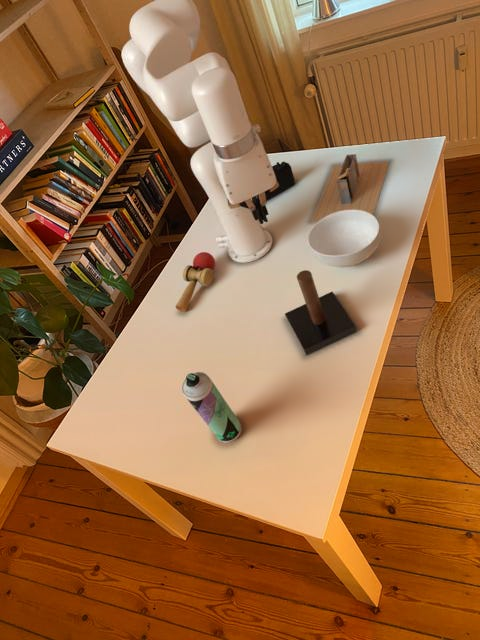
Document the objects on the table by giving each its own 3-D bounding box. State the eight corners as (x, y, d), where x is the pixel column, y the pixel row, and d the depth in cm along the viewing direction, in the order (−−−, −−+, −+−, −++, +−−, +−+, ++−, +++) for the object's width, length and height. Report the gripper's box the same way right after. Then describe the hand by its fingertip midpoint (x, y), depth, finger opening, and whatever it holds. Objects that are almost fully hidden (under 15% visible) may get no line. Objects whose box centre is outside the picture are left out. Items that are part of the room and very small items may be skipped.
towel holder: (284, 319, 113) (332, 308, 115) (303, 356, 104) (354, 343, 107) (287, 258, 101) (340, 247, 103) (308, 293, 92) (366, 281, 95)
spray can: (215, 422, 101) (175, 368, 87) (240, 415, 100) (204, 360, 86) (217, 445, 98) (175, 394, 84) (242, 439, 97) (205, 385, 82)
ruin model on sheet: (372, 220, 125) (366, 189, 118) (311, 221, 133) (303, 192, 126) (389, 161, 138) (385, 130, 131) (333, 165, 146) (327, 136, 139)
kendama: (200, 316, 125) (225, 260, 132) (185, 303, 121) (212, 245, 128) (179, 316, 130) (204, 261, 137) (164, 303, 126) (191, 247, 133)
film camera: (284, 171, 152) (276, 146, 146) (298, 184, 146) (291, 158, 139) (242, 195, 152) (232, 171, 145) (255, 209, 145) (245, 184, 138)
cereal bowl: (385, 227, 122) (382, 205, 117) (380, 276, 112) (376, 253, 107) (319, 233, 128) (313, 211, 123) (308, 279, 119) (301, 258, 114)
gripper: (265, 116, 90) (288, 195, 103) (192, 151, 90) (225, 225, 104) (279, 133, 85) (302, 213, 98) (201, 170, 85) (234, 245, 99)
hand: (262, 219), depth 101 cm, fingers closed
